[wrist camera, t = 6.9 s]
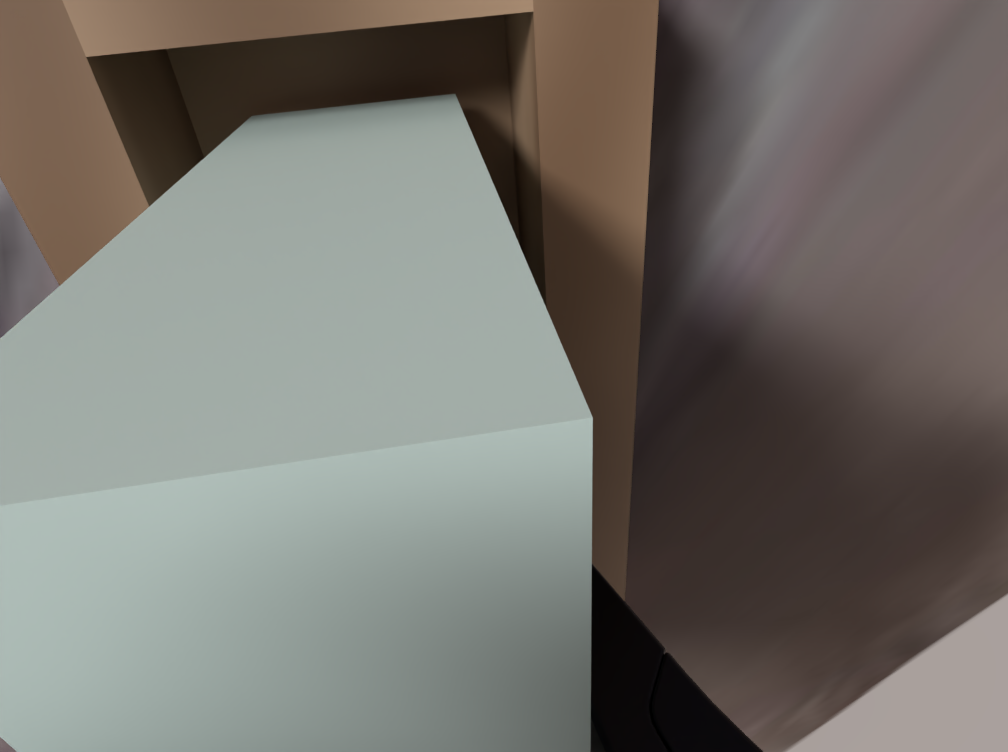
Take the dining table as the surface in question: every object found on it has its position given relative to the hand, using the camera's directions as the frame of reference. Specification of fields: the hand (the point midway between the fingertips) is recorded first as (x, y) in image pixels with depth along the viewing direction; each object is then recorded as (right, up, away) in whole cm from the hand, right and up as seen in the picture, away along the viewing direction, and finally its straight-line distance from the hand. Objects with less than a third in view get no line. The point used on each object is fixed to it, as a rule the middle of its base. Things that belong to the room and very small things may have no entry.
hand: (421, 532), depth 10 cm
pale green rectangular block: (0, +2, +3) cm, 3 cm away
